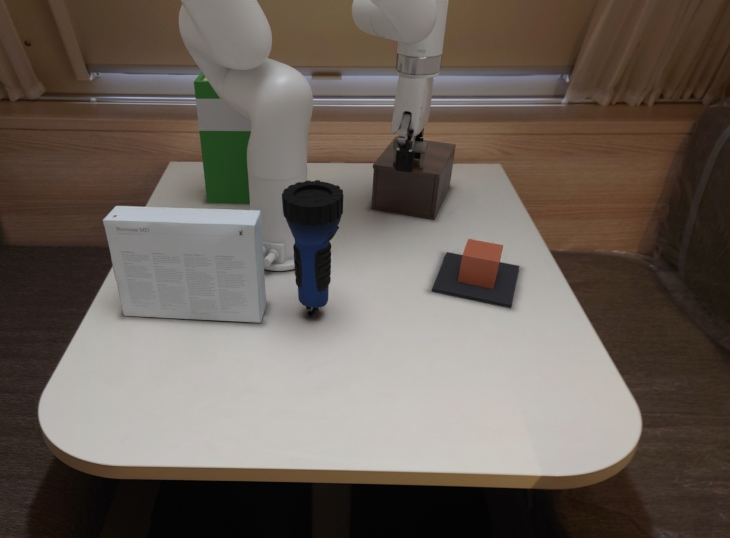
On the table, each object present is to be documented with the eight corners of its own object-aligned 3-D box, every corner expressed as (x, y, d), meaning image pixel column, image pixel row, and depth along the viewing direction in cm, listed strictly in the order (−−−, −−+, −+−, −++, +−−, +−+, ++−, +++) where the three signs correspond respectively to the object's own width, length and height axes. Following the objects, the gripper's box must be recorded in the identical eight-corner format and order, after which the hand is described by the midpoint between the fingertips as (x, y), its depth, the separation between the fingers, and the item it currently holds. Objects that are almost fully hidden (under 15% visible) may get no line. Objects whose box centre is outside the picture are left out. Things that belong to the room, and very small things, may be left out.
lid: (439, 178, 105) (443, 148, 102) (372, 168, 109) (374, 139, 106) (455, 147, 117) (459, 120, 114) (395, 140, 121) (397, 113, 118)
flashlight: (285, 333, 82) (281, 206, 71) (285, 301, 89) (282, 180, 77) (341, 332, 82) (346, 205, 71) (337, 300, 89) (341, 179, 77)
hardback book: (296, 188, 123) (293, 71, 109) (293, 204, 116) (291, 82, 103) (213, 187, 123) (201, 71, 110) (207, 202, 117) (193, 81, 104)
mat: (510, 308, 87) (511, 305, 86) (431, 291, 91) (432, 288, 90) (518, 268, 96) (519, 265, 95) (446, 254, 100) (446, 251, 99)
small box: (493, 289, 90) (499, 261, 87) (457, 281, 92) (462, 254, 89) (497, 271, 94) (503, 244, 91) (463, 264, 96) (468, 238, 93)
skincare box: (267, 302, 88) (262, 209, 79) (261, 324, 84) (255, 227, 75) (134, 295, 90) (114, 203, 81) (121, 316, 86) (99, 221, 77)
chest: (434, 219, 110) (439, 176, 105) (371, 208, 114) (373, 167, 110) (449, 188, 122) (455, 148, 117) (391, 179, 126) (395, 140, 121)
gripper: (409, 51, 105) (400, 146, 116) (382, 74, 92) (375, 178, 102) (450, 54, 103) (437, 151, 113) (429, 78, 90) (417, 185, 100)
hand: (408, 163), depth 108 cm, fingers open, 6 cm apart
